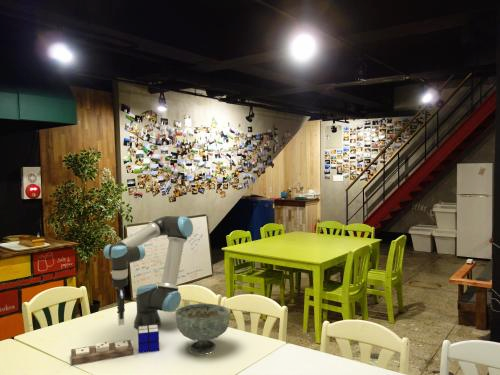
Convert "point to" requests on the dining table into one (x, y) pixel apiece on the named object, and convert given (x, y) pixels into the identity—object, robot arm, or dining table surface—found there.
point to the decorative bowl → (202, 325)
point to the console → (101, 354)
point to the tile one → (82, 351)
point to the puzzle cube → (148, 338)
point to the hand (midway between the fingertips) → (121, 324)
